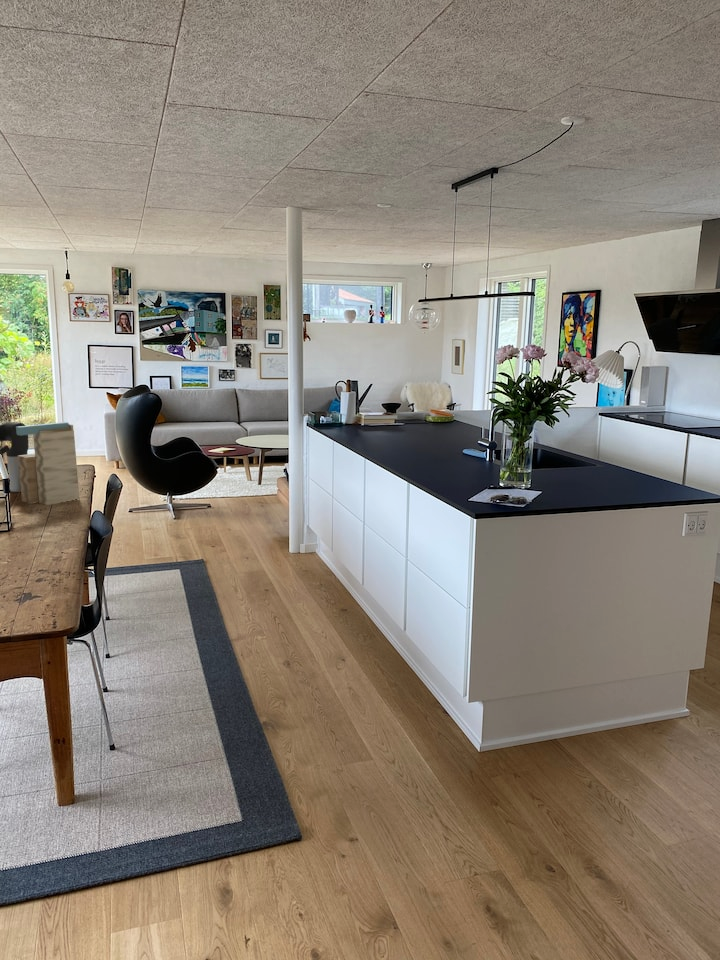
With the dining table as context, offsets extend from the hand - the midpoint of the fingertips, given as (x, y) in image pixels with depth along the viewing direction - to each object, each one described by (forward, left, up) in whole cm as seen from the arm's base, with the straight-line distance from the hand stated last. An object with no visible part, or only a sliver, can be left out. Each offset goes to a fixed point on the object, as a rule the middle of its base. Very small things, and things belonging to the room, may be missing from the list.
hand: (3, 445), depth 313 cm
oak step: (-9, +18, -28) cm, 35 cm away
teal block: (0, +18, +4) cm, 18 cm away
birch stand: (0, +22, -28) cm, 36 cm away
